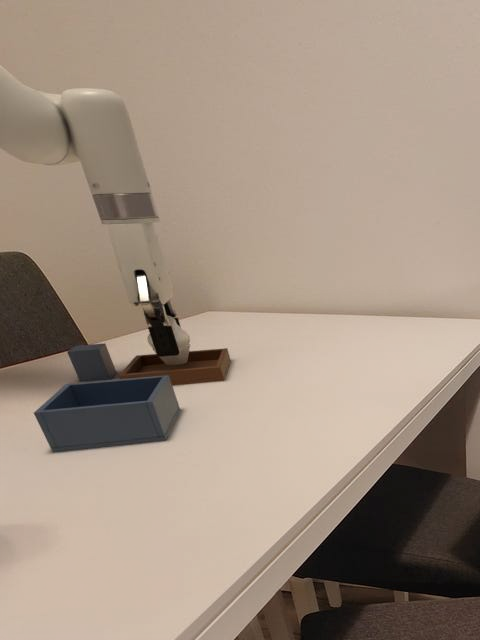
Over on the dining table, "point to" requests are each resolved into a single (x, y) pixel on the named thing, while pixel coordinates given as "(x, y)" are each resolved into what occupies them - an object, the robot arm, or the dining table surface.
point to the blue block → (92, 362)
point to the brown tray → (182, 367)
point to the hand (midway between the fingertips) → (172, 349)
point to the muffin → (182, 343)
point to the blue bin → (109, 413)
